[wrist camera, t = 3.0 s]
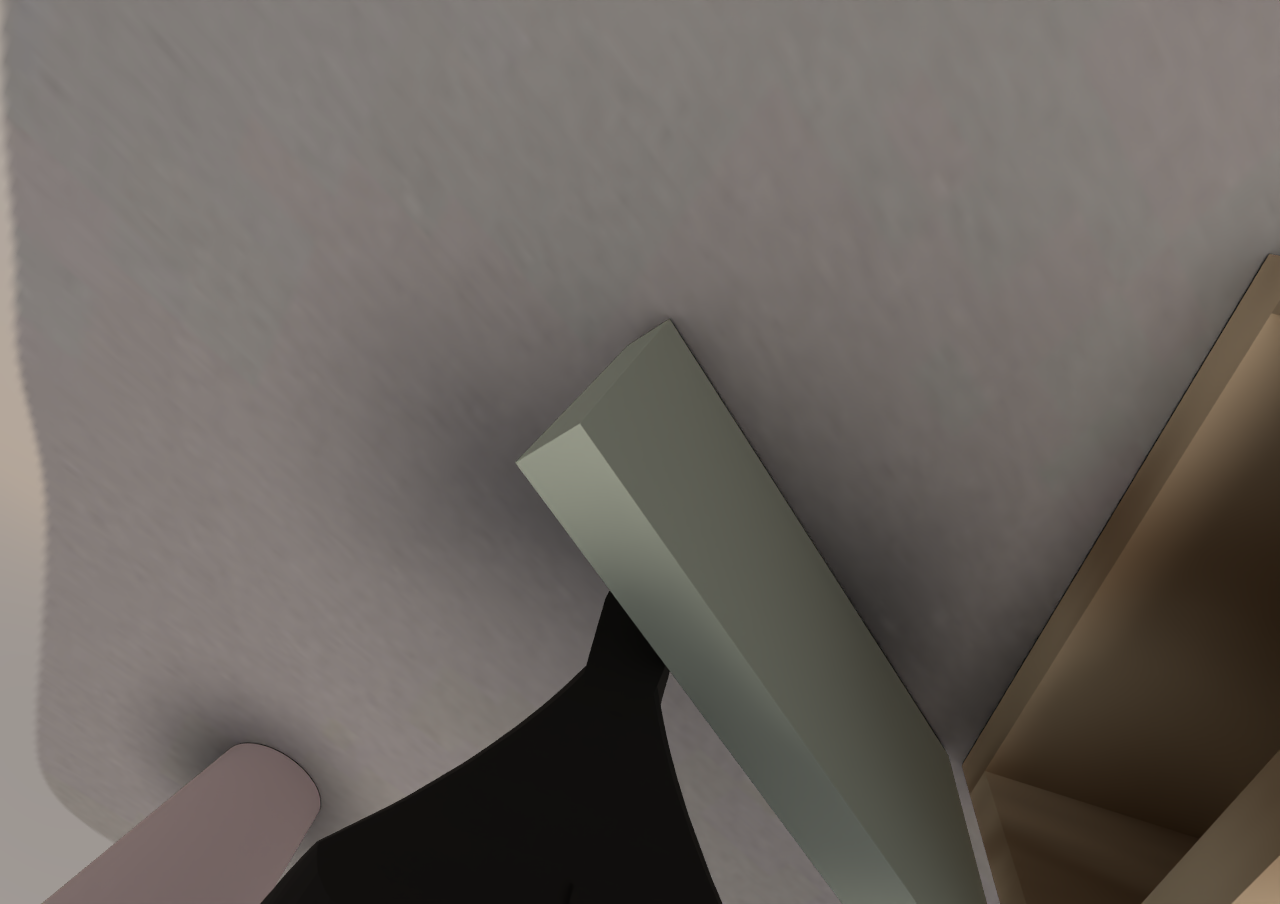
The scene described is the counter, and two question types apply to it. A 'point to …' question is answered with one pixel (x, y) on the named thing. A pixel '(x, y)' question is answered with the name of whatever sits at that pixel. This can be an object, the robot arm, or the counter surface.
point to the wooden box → (1159, 669)
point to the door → (754, 625)
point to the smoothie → (208, 838)
